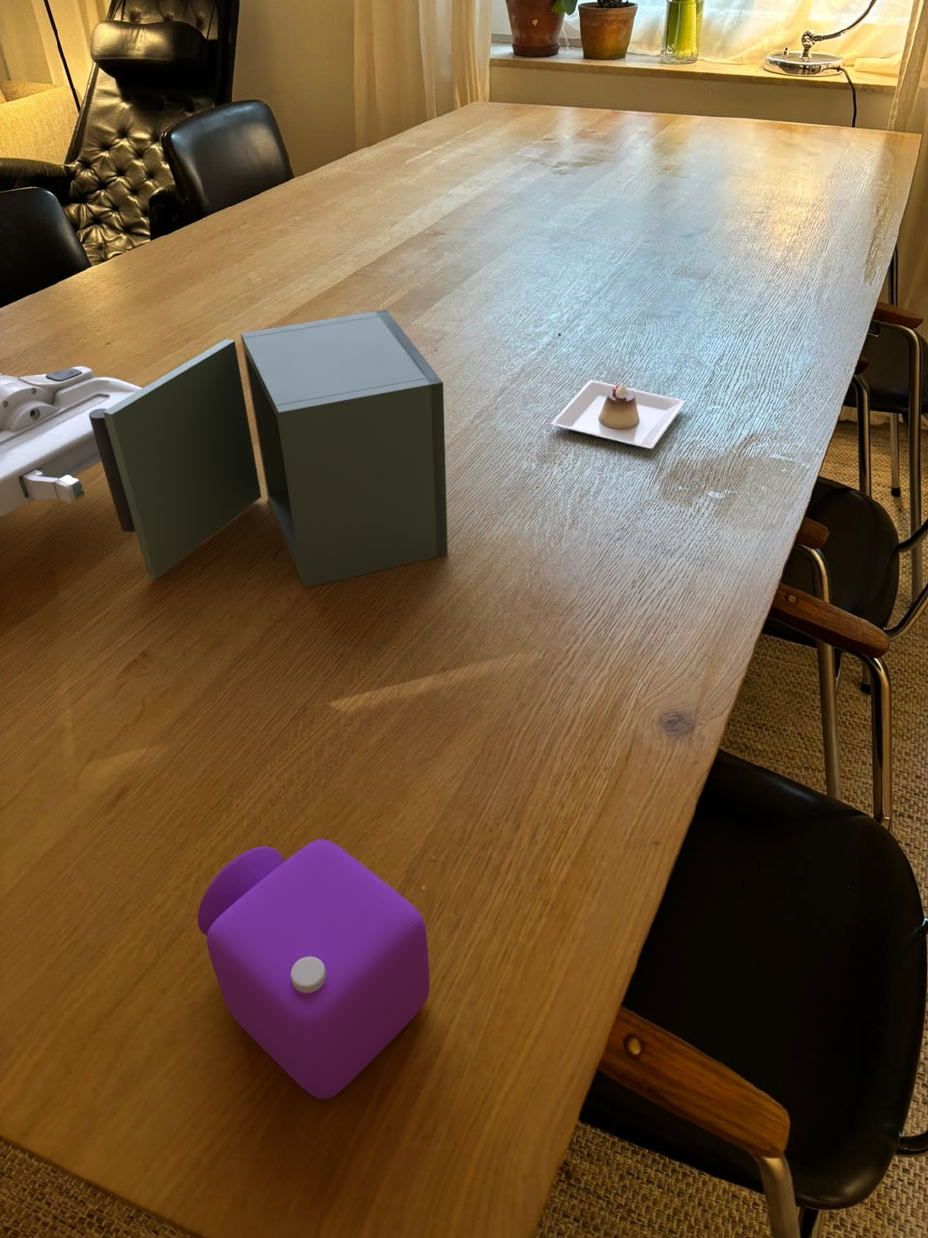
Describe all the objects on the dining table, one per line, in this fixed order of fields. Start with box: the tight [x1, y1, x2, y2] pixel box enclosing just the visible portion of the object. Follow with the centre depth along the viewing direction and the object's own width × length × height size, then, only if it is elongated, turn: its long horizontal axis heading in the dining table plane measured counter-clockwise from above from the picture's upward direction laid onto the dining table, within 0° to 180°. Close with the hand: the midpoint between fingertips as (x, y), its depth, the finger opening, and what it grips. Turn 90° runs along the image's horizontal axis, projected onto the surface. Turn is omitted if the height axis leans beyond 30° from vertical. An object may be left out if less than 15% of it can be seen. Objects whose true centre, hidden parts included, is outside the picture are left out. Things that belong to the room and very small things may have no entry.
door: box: [89, 338, 262, 580], centre depth 92 cm, size 6×16×17 cm, turn 151°
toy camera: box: [197, 838, 431, 1100], centre depth 57 cm, size 11×14×10 cm
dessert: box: [550, 379, 687, 450], centre depth 112 cm, size 12×12×5 cm
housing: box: [240, 309, 449, 589], centre depth 93 cm, size 14×16×18 cm
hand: (116, 470), depth 90 cm, fingers open, 8 cm apart
